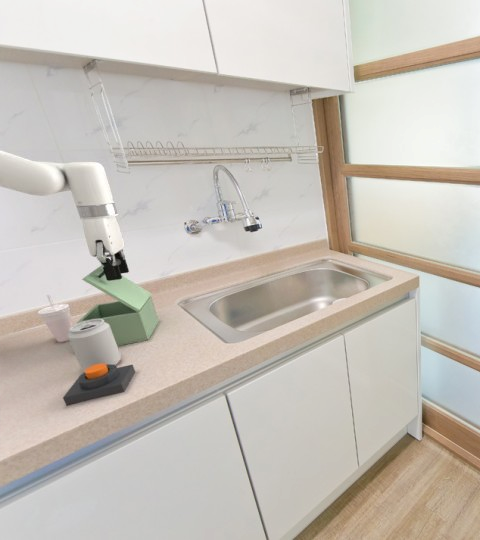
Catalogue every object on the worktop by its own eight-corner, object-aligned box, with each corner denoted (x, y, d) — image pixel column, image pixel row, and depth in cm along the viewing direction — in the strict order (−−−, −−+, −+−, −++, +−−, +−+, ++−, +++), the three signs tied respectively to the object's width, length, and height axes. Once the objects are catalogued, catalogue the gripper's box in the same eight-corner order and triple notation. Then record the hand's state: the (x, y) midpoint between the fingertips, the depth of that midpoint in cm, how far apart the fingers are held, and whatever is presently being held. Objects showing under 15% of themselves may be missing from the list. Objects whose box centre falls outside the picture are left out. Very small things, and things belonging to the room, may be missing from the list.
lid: (81, 279, 84) (99, 263, 84) (101, 265, 95) (117, 251, 95) (137, 312, 91) (153, 297, 92) (149, 295, 102) (164, 282, 102)
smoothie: (54, 346, 92) (34, 301, 88) (47, 340, 95) (27, 296, 91) (84, 336, 97) (66, 292, 93) (76, 330, 101) (59, 288, 96)
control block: (66, 406, 70) (59, 390, 68) (83, 383, 76) (76, 369, 75) (124, 392, 73) (118, 377, 72) (135, 371, 80) (130, 357, 79)
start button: (84, 381, 71) (81, 374, 71) (91, 372, 75) (88, 365, 74) (104, 376, 73) (102, 370, 72) (111, 367, 76) (108, 361, 75)
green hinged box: (87, 351, 89) (76, 323, 86) (105, 330, 100) (95, 304, 97) (148, 340, 94) (139, 312, 91) (159, 321, 105) (151, 296, 102)
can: (84, 379, 78) (66, 335, 74) (81, 367, 83) (63, 324, 79) (124, 365, 83) (109, 322, 79) (119, 354, 88) (104, 313, 84)
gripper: (93, 208, 92) (113, 269, 98) (63, 217, 77) (88, 289, 83) (126, 206, 95) (143, 265, 101) (103, 215, 80) (125, 284, 86)
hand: (118, 275), depth 92 cm, fingers closed on lid, 5 cm apart
